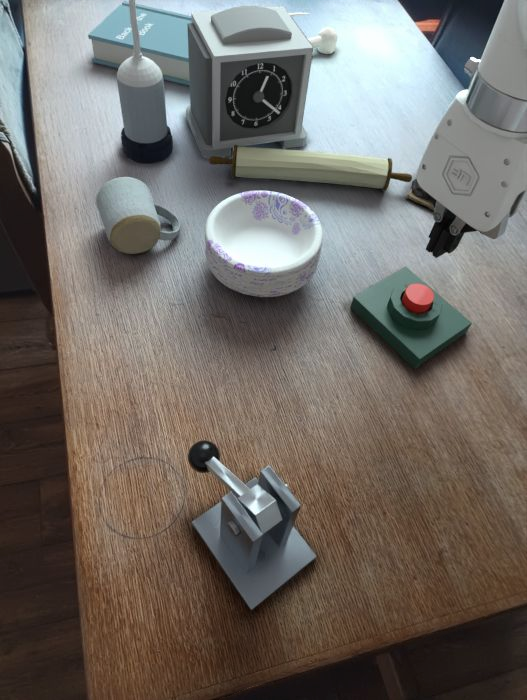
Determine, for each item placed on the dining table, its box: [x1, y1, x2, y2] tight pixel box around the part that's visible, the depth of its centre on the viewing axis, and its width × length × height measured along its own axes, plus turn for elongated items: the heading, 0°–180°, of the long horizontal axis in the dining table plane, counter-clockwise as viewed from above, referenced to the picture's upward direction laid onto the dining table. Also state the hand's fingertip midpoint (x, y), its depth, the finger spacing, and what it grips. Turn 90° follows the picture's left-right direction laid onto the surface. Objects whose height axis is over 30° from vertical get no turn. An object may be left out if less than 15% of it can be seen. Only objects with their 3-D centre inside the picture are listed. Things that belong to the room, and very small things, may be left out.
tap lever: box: [187, 439, 282, 534], centre depth 50 cm, size 13×3×3 cm
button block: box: [349, 266, 473, 370], centre depth 71 cm, size 12×10×4 cm
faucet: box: [288, 12, 338, 55], centre depth 108 cm, size 4×18×10 cm, turn 122°
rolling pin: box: [208, 145, 413, 192], centre depth 85 cm, size 32×6×5 cm, turn 87°
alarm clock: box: [185, 5, 314, 159], centre depth 87 cm, size 18×13×18 cm
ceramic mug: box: [95, 176, 182, 255], centre depth 75 cm, size 11×8×8 cm
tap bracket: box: [191, 464, 318, 613], centre depth 49 cm, size 10×8×12 cm
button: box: [402, 284, 434, 314], centre depth 69 cm, size 4×4×2 cm
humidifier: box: [116, 0, 174, 165], centre depth 79 cm, size 8×8×25 cm
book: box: [87, 0, 192, 87], centre depth 104 cm, size 23×16×5 cm
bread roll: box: [405, 178, 434, 211], centre depth 87 cm, size 11×8×4 cm
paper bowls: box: [204, 190, 324, 298], centre depth 72 cm, size 15×15×8 cm
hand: (439, 249), depth 62 cm, fingers closed
